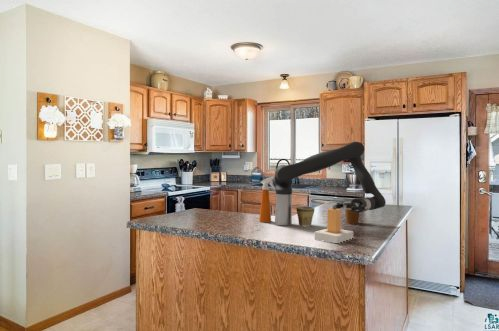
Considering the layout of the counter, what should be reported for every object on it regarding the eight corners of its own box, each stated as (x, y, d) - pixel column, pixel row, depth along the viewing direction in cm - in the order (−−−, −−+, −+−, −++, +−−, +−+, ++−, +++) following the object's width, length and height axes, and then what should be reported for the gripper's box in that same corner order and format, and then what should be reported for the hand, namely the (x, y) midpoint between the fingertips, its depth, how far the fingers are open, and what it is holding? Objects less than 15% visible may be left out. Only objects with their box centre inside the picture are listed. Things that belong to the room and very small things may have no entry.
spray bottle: (272, 223, 197) (273, 177, 196) (256, 221, 203) (257, 176, 202) (278, 221, 203) (279, 176, 202) (263, 219, 209) (263, 176, 208)
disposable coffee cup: (353, 225, 194) (354, 204, 193) (340, 222, 201) (340, 202, 201) (364, 223, 199) (364, 202, 199) (350, 220, 207) (351, 200, 206)
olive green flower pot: (314, 228, 186) (314, 209, 186) (295, 227, 188) (295, 208, 188) (314, 223, 199) (314, 205, 199) (297, 222, 201) (297, 205, 201)
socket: (337, 244, 153) (337, 236, 153) (314, 239, 162) (314, 231, 162) (353, 238, 163) (353, 231, 163) (331, 234, 172) (331, 227, 172)
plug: (335, 240, 160) (335, 206, 159) (327, 238, 163) (327, 205, 162) (340, 239, 163) (341, 205, 162) (332, 237, 166) (332, 204, 165)
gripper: (348, 196, 188) (331, 198, 177) (373, 199, 178) (357, 201, 167) (348, 210, 188) (331, 213, 177) (373, 213, 178) (356, 217, 167)
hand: (344, 207), depth 172 cm, fingers open, 8 cm apart
